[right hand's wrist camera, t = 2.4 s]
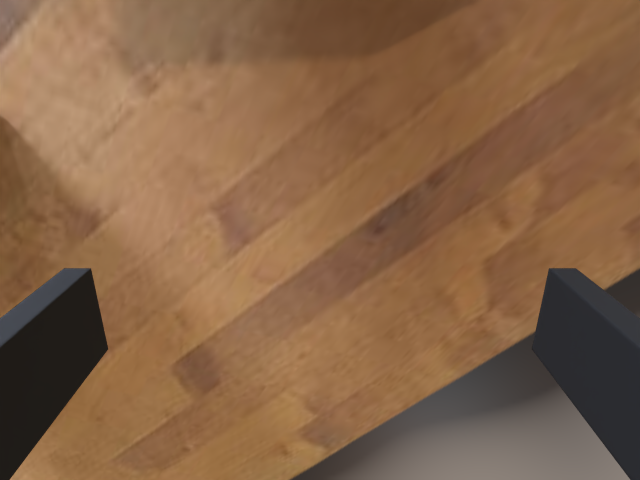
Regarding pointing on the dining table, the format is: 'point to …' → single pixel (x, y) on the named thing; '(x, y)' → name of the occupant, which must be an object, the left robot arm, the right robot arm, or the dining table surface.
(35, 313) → the right robot arm
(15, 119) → the dining table surface
